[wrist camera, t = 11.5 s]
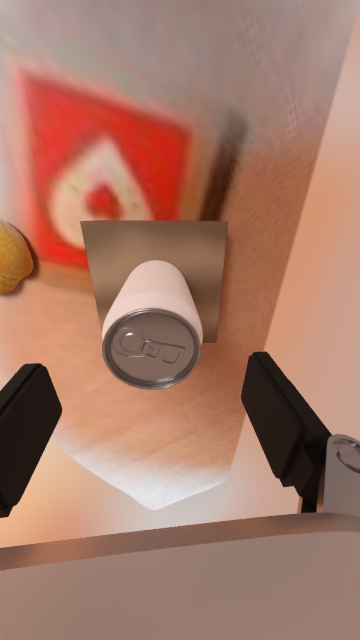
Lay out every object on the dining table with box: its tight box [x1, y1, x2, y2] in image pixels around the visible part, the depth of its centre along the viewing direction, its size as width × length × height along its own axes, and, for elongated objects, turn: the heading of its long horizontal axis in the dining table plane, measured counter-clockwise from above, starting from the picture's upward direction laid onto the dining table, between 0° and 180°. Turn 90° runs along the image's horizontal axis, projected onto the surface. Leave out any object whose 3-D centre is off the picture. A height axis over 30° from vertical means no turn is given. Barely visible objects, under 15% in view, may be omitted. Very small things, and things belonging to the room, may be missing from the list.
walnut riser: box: [80, 221, 228, 343], centre depth 25 cm, size 14×14×5 cm
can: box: [102, 260, 203, 390], centre depth 17 cm, size 6×6×12 cm
